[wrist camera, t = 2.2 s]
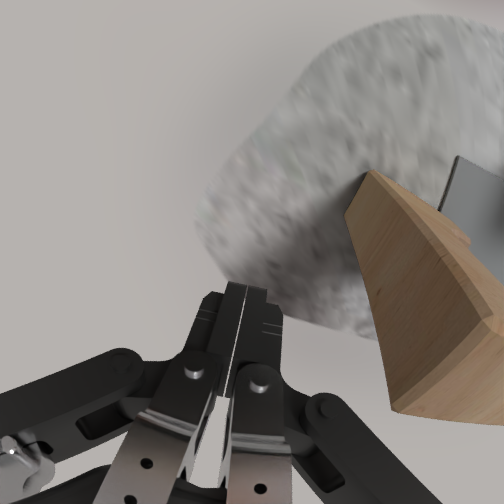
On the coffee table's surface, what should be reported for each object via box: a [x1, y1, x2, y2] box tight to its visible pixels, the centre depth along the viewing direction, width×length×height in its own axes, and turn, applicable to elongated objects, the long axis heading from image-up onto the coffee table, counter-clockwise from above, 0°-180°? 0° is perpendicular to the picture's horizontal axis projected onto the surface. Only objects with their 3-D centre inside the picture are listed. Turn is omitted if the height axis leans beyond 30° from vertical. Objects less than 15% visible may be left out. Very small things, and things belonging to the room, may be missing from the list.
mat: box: [439, 156, 504, 286], centre depth 25 cm, size 22×16×1 cm
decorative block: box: [344, 170, 504, 426], centre depth 16 cm, size 11×6×20 cm, turn 67°
